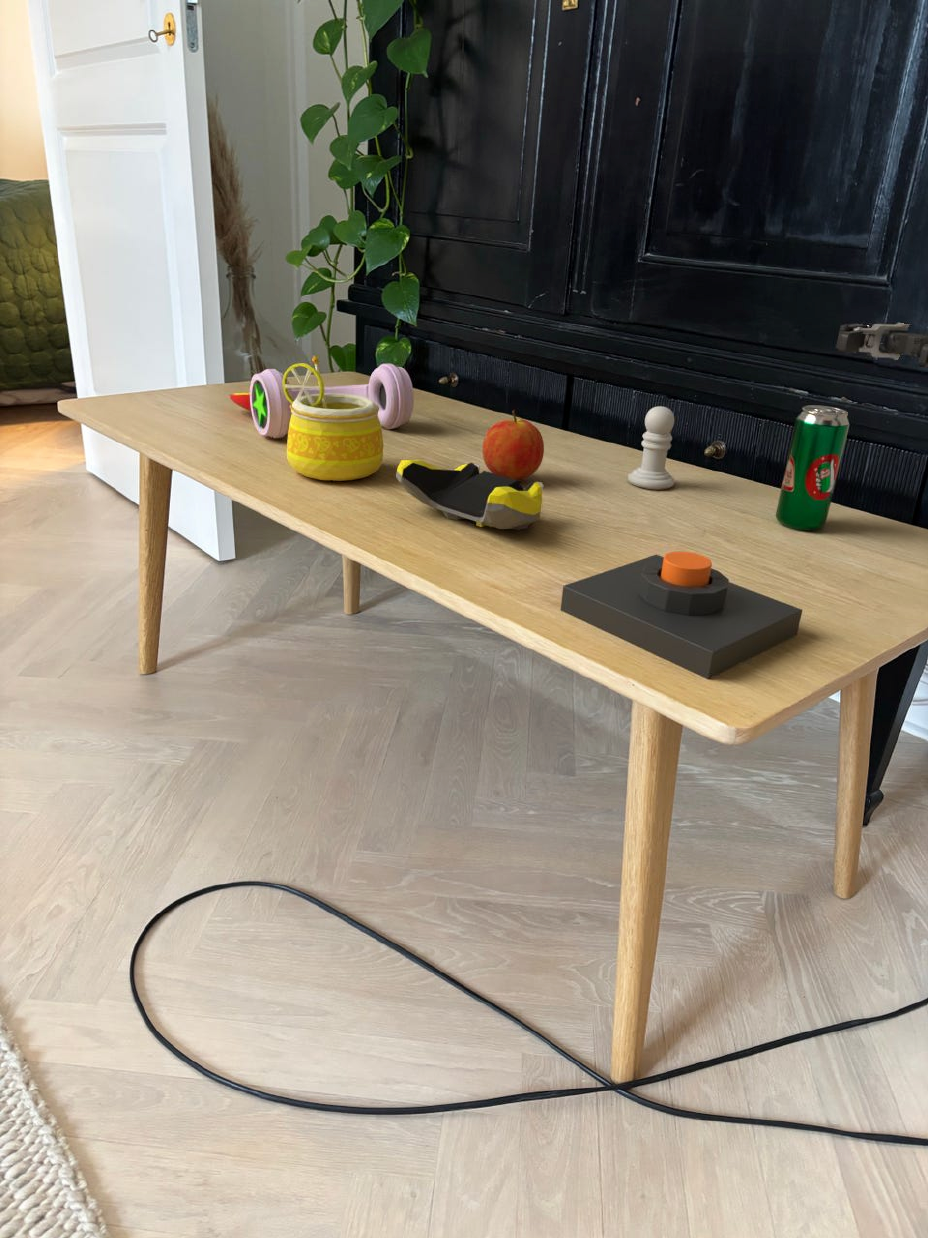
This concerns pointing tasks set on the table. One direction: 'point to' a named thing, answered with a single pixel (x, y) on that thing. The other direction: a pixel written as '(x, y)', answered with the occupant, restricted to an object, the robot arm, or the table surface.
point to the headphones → (273, 407)
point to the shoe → (473, 494)
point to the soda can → (812, 467)
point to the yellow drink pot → (332, 432)
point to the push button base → (682, 616)
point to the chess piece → (655, 451)
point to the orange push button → (686, 569)
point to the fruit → (513, 448)
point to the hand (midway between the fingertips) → (882, 349)
